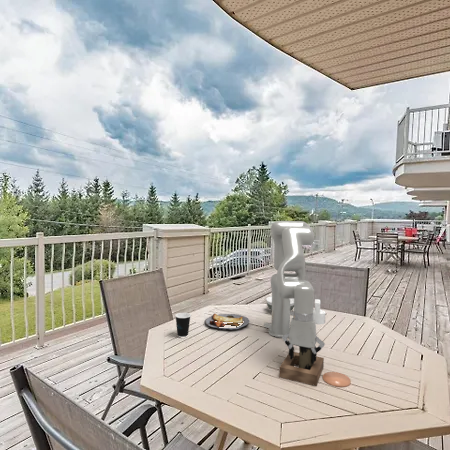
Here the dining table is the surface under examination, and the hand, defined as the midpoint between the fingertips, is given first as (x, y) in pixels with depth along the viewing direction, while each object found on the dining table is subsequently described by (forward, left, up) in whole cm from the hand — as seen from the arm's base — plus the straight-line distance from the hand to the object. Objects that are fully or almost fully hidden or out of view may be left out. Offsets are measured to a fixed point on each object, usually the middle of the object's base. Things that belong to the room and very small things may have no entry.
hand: (302, 359), depth 127 cm
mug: (0, 0, -5) cm, 5 cm away
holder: (0, 0, -5) cm, 5 cm away
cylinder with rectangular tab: (-5, +64, -5) cm, 64 cm away
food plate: (-50, +36, -6) cm, 62 cm away
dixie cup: (-62, +9, -5) cm, 63 cm away
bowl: (-29, +71, -5) cm, 77 cm away
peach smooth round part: (+13, 0, -5) cm, 14 cm away
